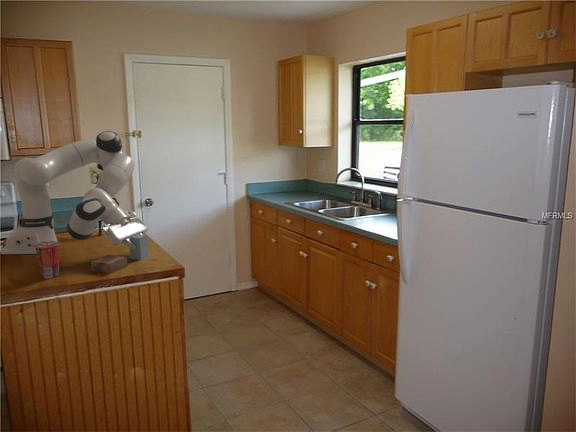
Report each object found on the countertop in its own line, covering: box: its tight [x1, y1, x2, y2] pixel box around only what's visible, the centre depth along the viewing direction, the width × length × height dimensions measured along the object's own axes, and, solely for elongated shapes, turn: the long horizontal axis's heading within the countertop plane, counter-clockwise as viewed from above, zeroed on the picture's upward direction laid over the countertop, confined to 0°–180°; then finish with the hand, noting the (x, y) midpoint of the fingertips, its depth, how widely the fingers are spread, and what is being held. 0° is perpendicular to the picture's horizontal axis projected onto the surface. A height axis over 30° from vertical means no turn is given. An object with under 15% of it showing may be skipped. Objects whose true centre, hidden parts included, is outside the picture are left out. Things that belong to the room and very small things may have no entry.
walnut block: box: [90, 254, 128, 274], centre depth 180 cm, size 9×9×4 cm
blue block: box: [129, 234, 149, 261], centre depth 193 cm, size 5×5×9 cm
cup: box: [30, 240, 61, 279], centre depth 171 cm, size 9×8×12 cm
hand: (140, 246), depth 192 cm, fingers closed on blue block, 5 cm apart
